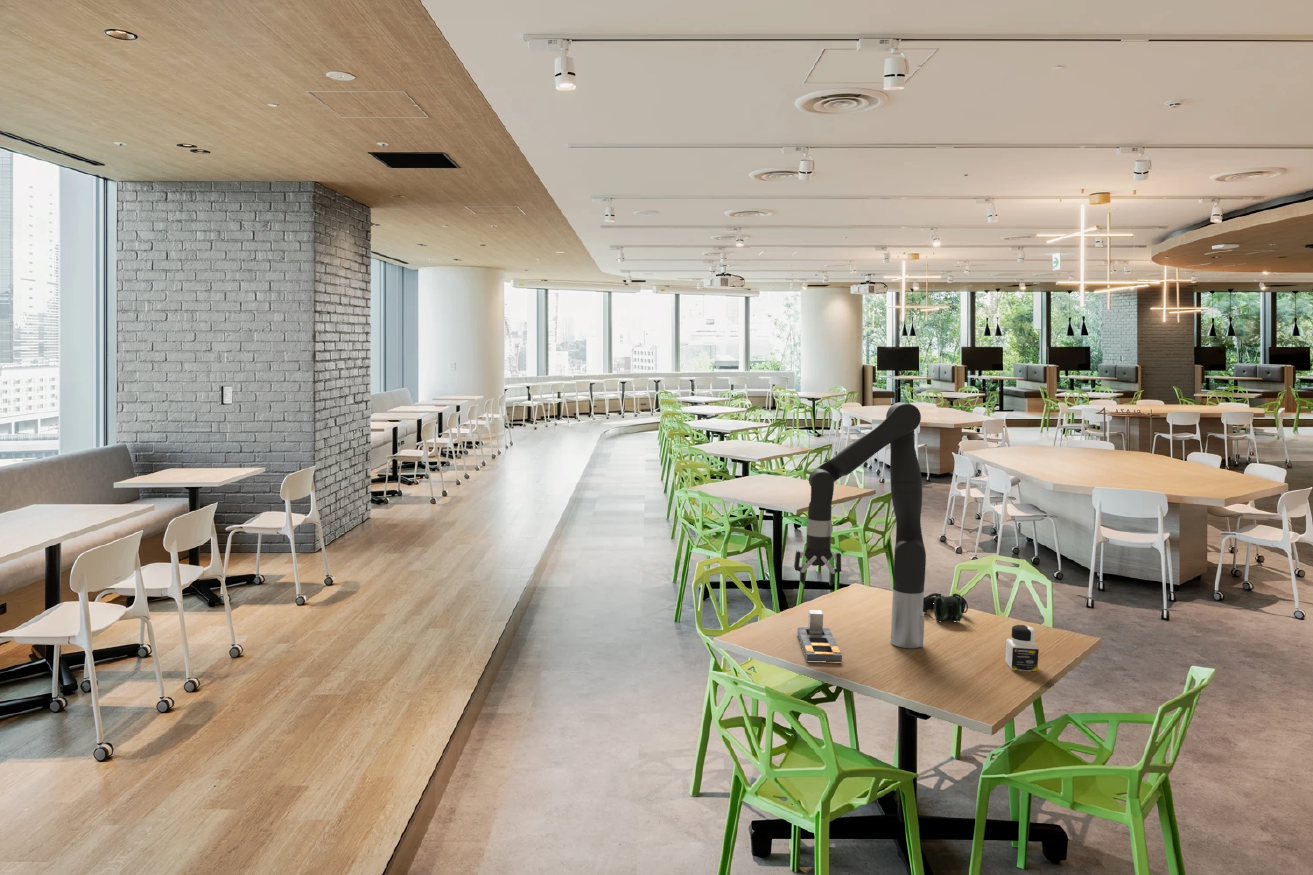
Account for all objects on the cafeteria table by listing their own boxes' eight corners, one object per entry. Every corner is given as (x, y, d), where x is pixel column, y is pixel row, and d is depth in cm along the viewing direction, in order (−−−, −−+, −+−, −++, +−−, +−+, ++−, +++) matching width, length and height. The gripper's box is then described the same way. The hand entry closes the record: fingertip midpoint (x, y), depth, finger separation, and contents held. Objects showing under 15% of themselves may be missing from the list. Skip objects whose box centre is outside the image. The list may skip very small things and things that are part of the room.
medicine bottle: (1011, 670, 244) (1013, 629, 243) (1004, 661, 251) (1007, 622, 250) (1037, 672, 243) (1040, 631, 242) (1030, 663, 250) (1032, 623, 249)
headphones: (983, 609, 285) (959, 601, 305) (955, 580, 285) (933, 574, 305) (956, 638, 284) (934, 628, 304) (928, 609, 284) (907, 601, 304)
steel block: (820, 637, 270) (821, 610, 269) (822, 642, 266) (823, 614, 265) (807, 637, 270) (808, 609, 269) (809, 641, 266) (810, 613, 265)
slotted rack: (828, 635, 272) (829, 627, 272) (841, 663, 247) (841, 654, 247) (797, 634, 273) (797, 626, 273) (806, 662, 248) (807, 653, 248)
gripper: (840, 531, 268) (837, 582, 270) (794, 530, 269) (792, 580, 271) (844, 536, 261) (841, 588, 262) (797, 535, 262) (795, 586, 263)
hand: (816, 584), depth 266 cm, fingers open, 8 cm apart
